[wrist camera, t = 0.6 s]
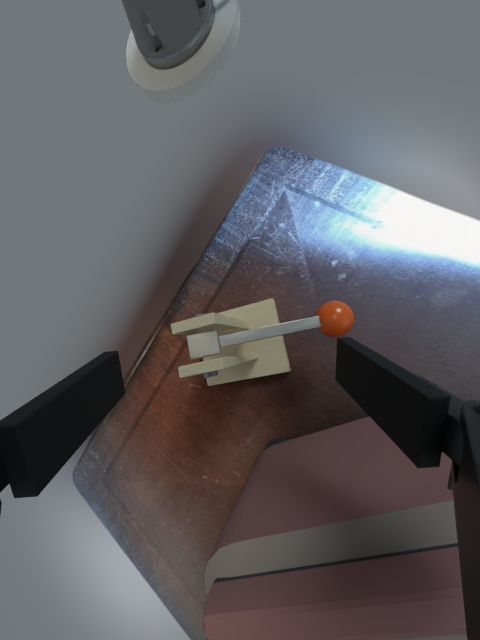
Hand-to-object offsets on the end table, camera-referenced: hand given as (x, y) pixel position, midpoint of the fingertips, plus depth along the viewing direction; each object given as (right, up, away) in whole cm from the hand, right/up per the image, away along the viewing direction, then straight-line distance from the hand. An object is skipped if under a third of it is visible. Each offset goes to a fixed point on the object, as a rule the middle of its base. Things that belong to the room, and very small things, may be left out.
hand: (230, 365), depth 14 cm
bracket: (+1, -1, +20) cm, 20 cm away
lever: (+4, +1, +11) cm, 11 cm away
